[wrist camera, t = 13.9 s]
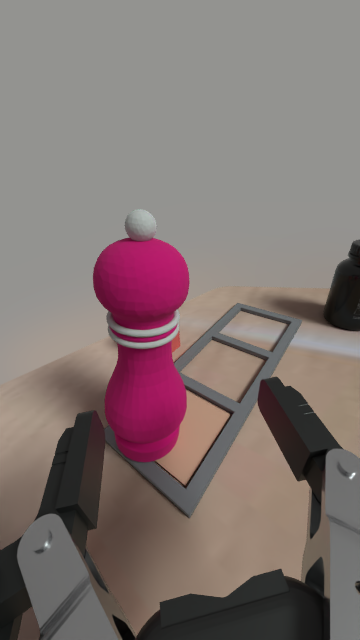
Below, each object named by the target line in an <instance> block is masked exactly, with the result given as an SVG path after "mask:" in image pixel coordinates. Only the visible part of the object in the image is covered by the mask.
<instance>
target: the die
mask: <svg viewBox="0 0 360 640" xmlns="http://www.w3.org/2000/svg"><path fill="white" fill-rule="evenodd" d="M171 345H172V352H174V351H175V350H176V349H177V348H178V347H179V346H180V338H179V331H178V334H177V335H176V337H174V338H173V339H172V344H171Z"/></svg>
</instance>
